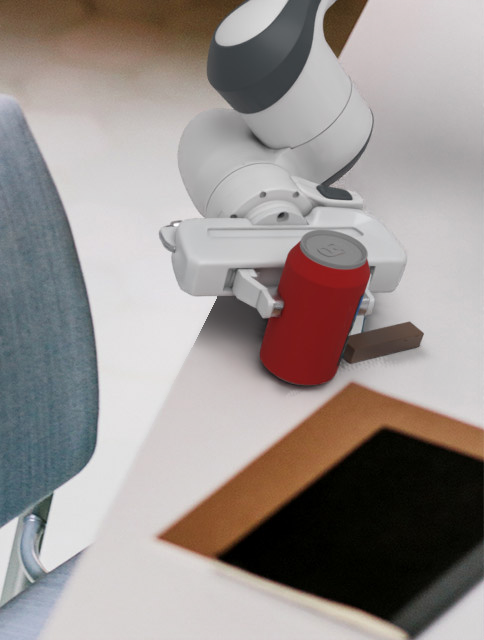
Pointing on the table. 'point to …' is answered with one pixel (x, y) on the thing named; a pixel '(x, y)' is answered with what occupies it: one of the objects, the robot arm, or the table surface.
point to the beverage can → (316, 307)
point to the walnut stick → (382, 342)
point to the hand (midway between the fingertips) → (320, 310)
